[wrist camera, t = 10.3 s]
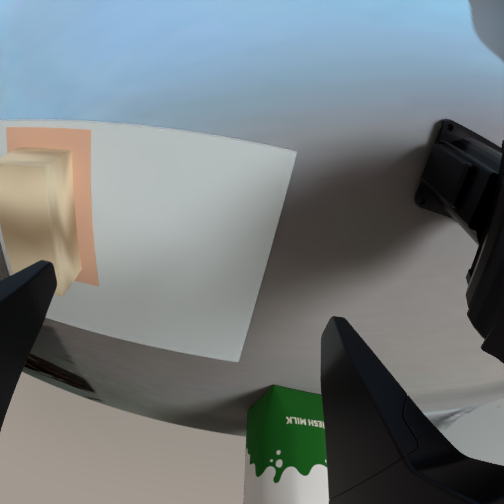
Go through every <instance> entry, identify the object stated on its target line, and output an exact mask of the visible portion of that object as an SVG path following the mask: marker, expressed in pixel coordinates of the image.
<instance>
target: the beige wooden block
mask: <svg viewBox="0 0 504 504" xmlns="http://www.w3.org/2000/svg"><path fill="white" fill-rule="evenodd" d="M0 227H1V231H2V235H3V240H4V244H5V248H6V252H7V255H8V259H9V263H10V266H11V270H12V273H13V274H15V273H17V272H19V271H21V270H22V269H24V268H26V267H28V266H30V265H32V264H34V263H36V262H38V261H40V260H46V261H50V262H52V263H53V265H54V269H55V274H56V278H57V288H56V291H55V293H54V294H55V295H58V296H62V297H64V295H65V294H66V292H67V291H68V289H69V288H70V286H71V285H72V283H73V282H74V280H75V279H76V277H77V276H78V274H79V273H80V271H81V270H82V266H81V259H80V252H79V245H78V236H77V227H76V217H75V205H74V191H73V170H72V150H65V149H51V148H34V147H19V148H17V149H15V150H13V151H12V152H10V153H8V154H6V155H5V156H3V157H1V158H0Z"/></svg>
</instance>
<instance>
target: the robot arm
mask: <svg viewBox="0 0 504 504" xmlns="http://www.w3.org/2000/svg"><path fill="white" fill-rule="evenodd" d="M448 124H450V129H447V126H448ZM421 198H423V200H422V201H421V202H420V199H421ZM414 201H415V203H416V204H417V205H418V206H419V207H421V208H424V209H427V210H430V211H433V212H436V213H439V214H442V215H445V216H448V217H451V218H454V219H455V220H456V221H457V222H458V223H459V225H460V226H461V227H462V228H463V229H464V230H465V231H466V232H467V233H468V234H469V235H470V236H471V238H472V239H473V240H474V241H475V242H476V243H477V244H478V246H479V247H478V250H477V253H476V256H475V258H474V261H473V264H472V267H471V269H469V270H468V273H467V276H466V279H467V283H468V288H467V292H466V298H467V304H468V308H469V310H468V312H467V316H468V318H469V319H470V321H471V323H472V325H473V326H474V328H475V329H476V330H477V332H478V333H479V334H480V335H481V336H482V337H483V338H484V339H485V340H484V342H483V344H482V345H481V349H482V350H483V351H485V352H487V353H488V354H490V355H492V356H494V357H496V358H498V359H499V360H500V361H501V362H502V363H504V140H503V142H502V148H500V147H499V146H497V145H495V144H494V143H492V142H490V141H489V140H487V139H485V138H484V137H482V136H480V135H478V134H476V133H475V132H473V131H471V130H469V129H467V128H466V127H464V126H462V125H460V124H458V123H456V122H454V121H452V120H450V119H445V120H444V121H443V122H442V124H441V127H440V130H439V133H438V136H437V139H436V142H435V144H434V145H433V147H432V150H431V153H430V156H429V158H428V161H427V164H426V167H425V169H424V172H423V174H422V180H421V183H420V185H419V188H418V190H417V193H416V195H415V198H414ZM56 288H57V278H56V274H55V269H54V265H53V263H52V262H50V261H46V260H40V261H38V262H36V263H34V264H32V265H30V266H28V267H26V268H24V269H22V270H21V271H19V272H17V273H15V274H13V275H11V276H9V277H7V278H5V279H4V280H2V281H0V431H1V427H2V424H3V421H4V418H5V415H6V412H7V409H8V406H9V404H10V401H11V398H12V395H13V393H14V390H15V387H16V384H17V382H18V380H19V377H20V374H21V372H22V370H23V367H24V365H25V363H26V360H27V358H28V356H29V353H30V351H31V349H32V346H33V344H34V342H35V340H36V338H37V336H38V333H39V331H40V329H41V327H42V324H43V322H44V319H45V317H46V314H47V311H48V309H49V306H50V303H51V301H52V298H53V296H54V293H55V291H56ZM321 393H322V404H323V416H324V428H325V441H326V456H327V473H328V493H329V499H330V500H329V504H504V466H502V465H497V464H492V463H489V462H485V461H481V460H477V459H473V458H470V457H467V456H465V455H464V454H462V453H461V452H459V451H458V450H457V449H456V448H455V447H454V446H453V445H452V444H451V443H450V442H449V441H448V440H447V439H446V438H445V437H444V436H443V435H442V433H441V432H440V431H439V430H438V429H437V428H436V427H435V426H434V425H433V424H432V423H431V422H430V421H429V419H428V418H427V417H426V416H425V415H424V414H423V413H422V412H421V410H420V409H419V408H418V407H417V406H416V404H415V403H414V402H413V401H412V399H411V398H410V397H409V396H407V393H406V392H405V391H404V389H403V388H402V387H401V386H400V384H399V383H398V382H397V381H396V380H395V378H394V377H393V376H392V375H391V373H390V372H389V371H388V370H387V368H386V367H385V366H384V365H383V364H382V362H381V361H380V360H379V359H378V357H377V356H376V355H375V354H374V353H373V351H372V350H371V349H370V348H369V346H368V345H367V344H366V343H365V342H364V340H363V339H362V338H361V337H360V336H359V334H358V333H357V332H356V331H355V330H354V328H353V327H352V326H351V325H350V324H349V322H348V321H347V320H346V319H345V318H343V317H336V316H333V317H331V318H330V320H329V322H328V324H327V326H326V328H325V330H324V332H323V334H322V337H321Z"/></svg>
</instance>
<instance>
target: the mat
mask: <svg viewBox="0 0 504 504" xmlns="http://www.w3.org/2000/svg"><path fill="white" fill-rule="evenodd" d="M19 147H34V148H51V149H65V150H72V170H73V191H74V205H75V217H76V227H77V236H78V245H79V252H80V259H81V266H82V270H81V271H80V273H79V274H78V276H77V277H76V279H75V280H74V282H73V283H72V285H71V286H70V288H69V289H68V291H67V292H66V294H65V295H64V297H62V296H58V295H55V294H54V296H53V298H52V301H51V303H50V306H49V309H48V311H47V314H46V317H45V318H48V319H52V320H55V321H58V322H61V323H64V324H68V325H71V326H74V327H78V328H81V329H85V330H88V331H92V332H95V333H99V334H103V335H107V336H110V337H114V338H118V339H122V340H126V341H131V342H135V343H139V344H143V345H148V346H152V347H157V348H161V349H166V350H171V351H176V352H181V353H186V354H192V355H197V356H203V357H208V358H214V359H220V360H227V361H233V362H239V358H240V355H241V351H242V348H243V345H244V341H245V338H246V334H247V331H248V328H249V324H250V321H251V317H252V314H253V310H254V307H255V303H256V300H257V296H258V293H259V289H260V286H261V282H262V279H263V275H264V272H265V268H266V265H267V261H268V258H269V254H270V250H271V247H272V243H273V240H274V236H275V232H276V229H277V225H278V222H279V218H280V214H281V211H282V207H283V203H284V200H285V196H286V192H287V189H288V185H289V181H290V177H291V174H292V170H293V166H294V162H295V159H296V155H297V151H294V150H289V149H285V148H280V147H276V146H271V145H266V144H262V143H257V142H251V141H246V140H241V139H236V138H230V137H224V136H219V135H213V134H206V133H200V132H193V131H186V130H179V129H172V128H164V127H155V126H146V125H137V124H126V123H114V122H101V121H84V120H59V119H8V120H0V158H1V157H3V156H5V155H6V154H8V153H10V152H12V151H13V150H15V149H17V148H19ZM0 242H1V246H2V250H3V254H4V257H5V261H6V265H7V268H8V271H9V275H10V276H11V275H13V273H12V270H11V266H10V263H9V259H8V255H7V252H6V248H5V244H4V240H3V235H2V231H1V227H0Z"/></svg>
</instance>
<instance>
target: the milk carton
mask: <svg viewBox="0 0 504 504" xmlns="http://www.w3.org/2000/svg"><path fill="white" fill-rule="evenodd" d="M245 456H246V457H245V480H244V501H243V504H329V500H330V499H329V493H328V473H327V456H326V441H325V428H324V416H323V404H322V395H319V394H314V393H309V392H304V391H299V390H294V389H290V388H285V387H281V386H276V385H273V386H272V387H271V388H270V389H269V390H268V391H267V392H266V393H265V394H264V395H263V396H262V397H261V399H260V400H259V401H258V402H257V403H256V404H255V405H254V406H253V407H252V408H251V409H250V410H249V411H248V415H247V434H246V455H245Z"/></svg>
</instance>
